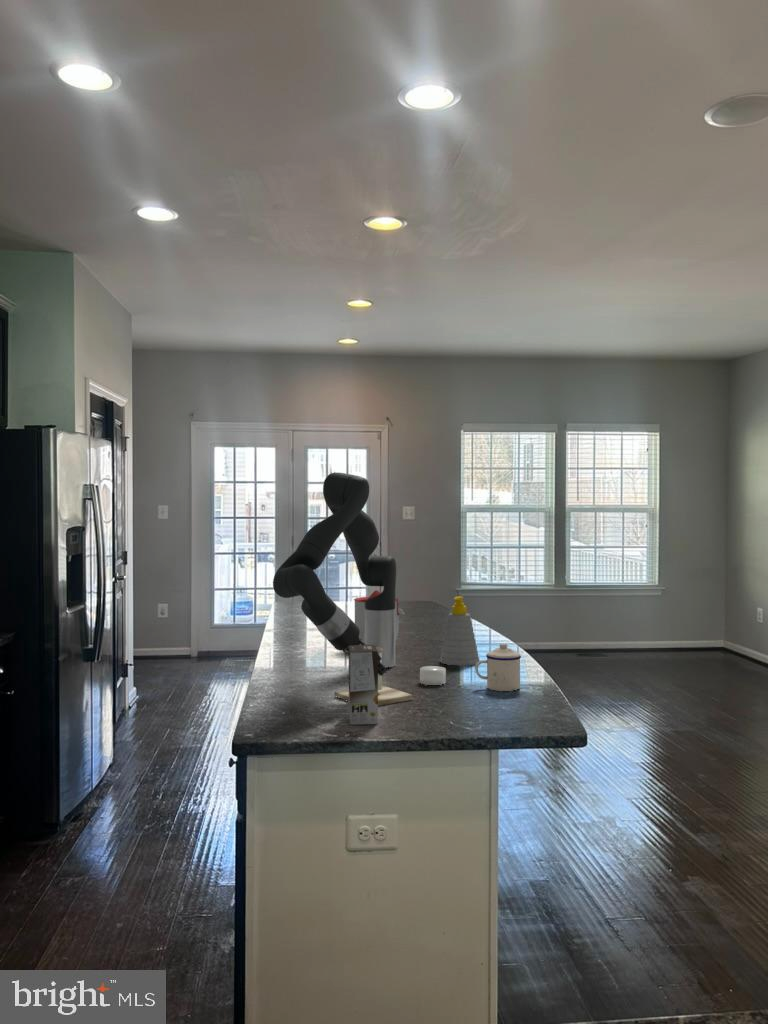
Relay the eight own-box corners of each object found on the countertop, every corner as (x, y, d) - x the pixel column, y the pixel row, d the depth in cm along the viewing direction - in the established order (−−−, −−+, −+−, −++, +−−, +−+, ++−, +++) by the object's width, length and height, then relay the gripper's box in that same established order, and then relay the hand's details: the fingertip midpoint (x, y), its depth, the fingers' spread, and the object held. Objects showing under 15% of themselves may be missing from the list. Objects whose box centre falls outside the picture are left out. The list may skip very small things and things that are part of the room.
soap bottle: (434, 664, 236) (433, 597, 236) (446, 657, 247) (446, 593, 248) (473, 667, 231) (473, 599, 231) (484, 660, 243) (484, 595, 243)
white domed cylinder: (414, 682, 211) (415, 667, 211) (435, 679, 215) (435, 665, 215) (429, 687, 205) (429, 672, 205) (450, 684, 209) (450, 669, 209)
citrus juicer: (405, 652, 257) (404, 592, 257) (352, 652, 257) (352, 592, 257) (404, 644, 272) (404, 587, 272) (355, 644, 272) (354, 587, 273)
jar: (359, 688, 193) (359, 648, 194) (375, 685, 196) (375, 646, 196) (370, 691, 190) (370, 651, 190) (386, 689, 192) (386, 649, 192)
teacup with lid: (518, 684, 208) (517, 641, 208) (523, 692, 199) (523, 646, 199) (473, 684, 208) (473, 641, 208) (477, 692, 199) (477, 647, 199)
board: (334, 696, 195) (334, 692, 195) (380, 689, 203) (380, 684, 203) (365, 708, 183) (365, 703, 183) (412, 699, 191) (412, 694, 191)
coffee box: (378, 724, 169) (378, 651, 169) (349, 725, 168) (349, 651, 168) (375, 713, 178) (375, 644, 178) (348, 714, 178) (347, 644, 178)
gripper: (362, 618, 183) (403, 663, 190) (330, 612, 194) (370, 655, 201) (343, 642, 180) (385, 688, 186) (312, 635, 191) (353, 678, 198)
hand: (377, 670), depth 194 cm, fingers closed on jar, 4 cm apart
